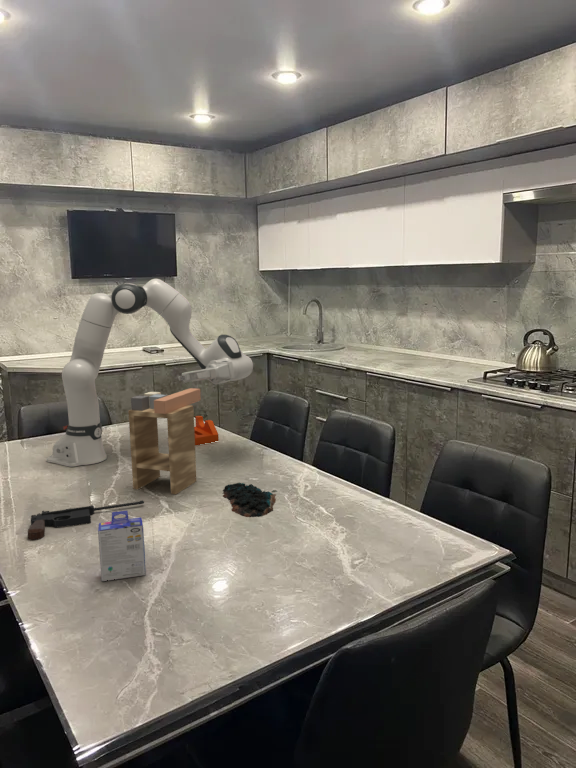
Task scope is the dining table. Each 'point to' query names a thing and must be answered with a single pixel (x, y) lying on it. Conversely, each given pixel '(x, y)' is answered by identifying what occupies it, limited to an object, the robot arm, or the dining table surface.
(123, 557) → the ink cartridge box
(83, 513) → the firearm
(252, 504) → the mineral specimen
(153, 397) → the slate cube
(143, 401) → the charcoal cube
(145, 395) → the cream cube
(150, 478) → the oak shelf
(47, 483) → the dining table surface
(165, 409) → the terracotta bar
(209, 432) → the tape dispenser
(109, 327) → the robot arm
